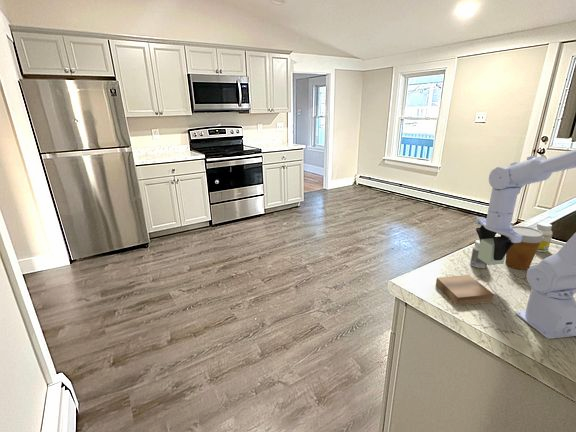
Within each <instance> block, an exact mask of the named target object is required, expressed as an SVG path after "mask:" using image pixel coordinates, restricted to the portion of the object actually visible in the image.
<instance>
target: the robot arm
mask: <svg viewBox="0 0 576 432" xmlns="http://www.w3.org/2000/svg"><path fill="white" fill-rule="evenodd" d="M570 169H576V148H575V149H572V150H569V151H566V152H564V153H562V154H558V155H555V156H553V157H549V158H546V157H543V156H537V155H529V156H527V157H526V160H524V161H521V162H511V163H509V166H497V167H495V168H494V169H492V170H491V171H490V173H489V175H488V183H489V185H490V186H491V188H492V189H491V194H490V199H489V204H488V210H487V215H486V218H485V217H484V216H480V217H479V216H478V217H476V218H475V224H476V225H480V227H477V228H475V231H476V233H477V235H478V240H479V239H480V243H481V239H490V238H493V240H494V247H495V249H494V260H496V261H497V260H502V259H503V257H504V256H505V257H506V255H505V254H506V253H507V251H508V250H509V249H510V247H511V246H513V245H514V244H515V243H520V242H521V239H522V235H520V234H518V233H517V232H516V231H515V230H513V229H512V228H513V226H514V225H512V221H513V217H514V212H515V207H516V204H517V203H516V202H517V198H518V195H519V194H520V193H521V190H522V188H523V187H525V186H526V185H530V184H531V185H532V184H536V183H538V182H539V183H540V182H543V181H547V180H548V179H550V177H551V176H552V174H553V173H556V172H557V173H558V172H562V171H566V170H570ZM497 234H498V235H500V236H496V235H497ZM526 280H527V283H528V284H529V287H530V288H531V289H530V293H529V297H528V301H527V304H526V307H525V309H524V310H515V315H517V316H518V317H519V318H521V319H522V320H523V321H525V322H526V323H527V324H528V325H530V326H531V327H532V328H534V329H535V330H536V331H537V332H539V334H541V335H542V336H543V337H545V338H546V339H549V340H552V339H561V338H568V337H576V299H575V297H574V295H575V294H576V232H575V233H573V234H572V236H571V237H570V238H569V239H568V240H567V241H566V242H565V244H564V245H563V246H561V248H560V249H559V250H558V251H557V252H556V253H553V254H551V255H550V256H547V257H545V258H543V259H542V260H541V261H540V262H539V263H538V264H534V265H530V267H529V268H528V269H527V271H526Z"/></svg>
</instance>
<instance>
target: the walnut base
mask: <svg viewBox="0 0 576 432" xmlns="http://www.w3.org/2000/svg"><path fill="white" fill-rule="evenodd" d="M435 286H436V287H437V288H438V289H439V290H440V291H441V292H442V293H443V294H444V295H445V296H446V297H447V298H448V299H449V300H450V301H451V302H452V303H453V304H454V305H455V306H464V305H465V306H466V305H476V304H478V305H479V304H486V303H488V304H489V303H493V299H494V296H495V294H494V293H493V292H492V291H491V290H489V289H488V288H487V287H486V286H484V285H482V283H480V282H479V281H478V280H477V279H475V278H474V277H473V276H471V275H470V274H463V275H455V276H454V275H453V276H452V275H451V276H442V277H436V281H435Z"/></svg>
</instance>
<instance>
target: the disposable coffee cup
mask: <svg viewBox="0 0 576 432" xmlns="http://www.w3.org/2000/svg"><path fill="white" fill-rule="evenodd" d="M512 226H513V228H512V229H513V230H515V231H516V232H517V233H518V234H520V235H522V239H521V242H520V243H515V244H514V245H513V246H511V247H510V249H509V250H508V251H507V253H506V255H505V265H507V266H508V267H511V268H514V269H516V270H528V269H529V268H530V267H531V265H532V262H533V260H534V258H535V255H536V253H537V249H538V247H539V244H540V242H541V241H542V240H543V239H544V237H543V233H542V232H541V231H539V230H537V229H535V228H533V227H528V226H523V225H522V226H521V225H512Z"/></svg>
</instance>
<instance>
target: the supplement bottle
mask: <svg viewBox="0 0 576 432" xmlns="http://www.w3.org/2000/svg"><path fill="white" fill-rule="evenodd" d="M552 227H553V225H552V224H550V223H549V222H544V221H543V222H542V221H541V222H537V224H536V227H535V228H534V229H537V230H539V231H541V232H542V233H543V237H544V239H543V240H542V241H541V242H540V244H539V247H538V249H537V251H536V253H547V252H548V251H549V249H550V245H551V240H552V239H553V238H552V237H553V231H552Z"/></svg>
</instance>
